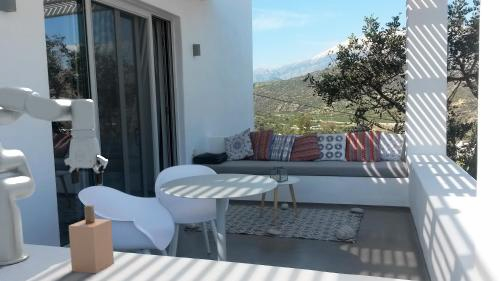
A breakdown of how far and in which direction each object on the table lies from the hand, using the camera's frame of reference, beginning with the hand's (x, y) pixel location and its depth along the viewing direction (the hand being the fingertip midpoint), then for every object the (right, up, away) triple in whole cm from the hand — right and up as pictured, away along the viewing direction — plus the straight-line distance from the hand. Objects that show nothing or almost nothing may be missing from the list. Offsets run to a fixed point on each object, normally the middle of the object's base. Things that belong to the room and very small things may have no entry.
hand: (87, 183), depth 153 cm
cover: (+2, -30, +2) cm, 30 cm away
